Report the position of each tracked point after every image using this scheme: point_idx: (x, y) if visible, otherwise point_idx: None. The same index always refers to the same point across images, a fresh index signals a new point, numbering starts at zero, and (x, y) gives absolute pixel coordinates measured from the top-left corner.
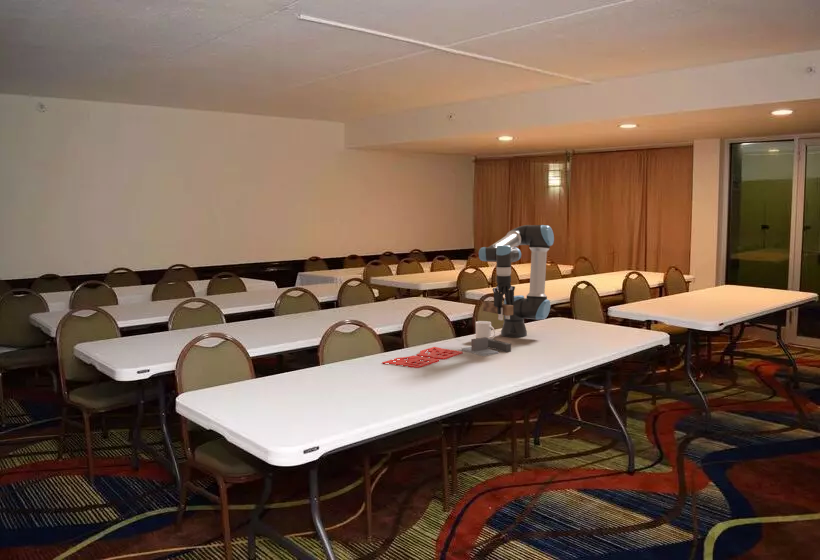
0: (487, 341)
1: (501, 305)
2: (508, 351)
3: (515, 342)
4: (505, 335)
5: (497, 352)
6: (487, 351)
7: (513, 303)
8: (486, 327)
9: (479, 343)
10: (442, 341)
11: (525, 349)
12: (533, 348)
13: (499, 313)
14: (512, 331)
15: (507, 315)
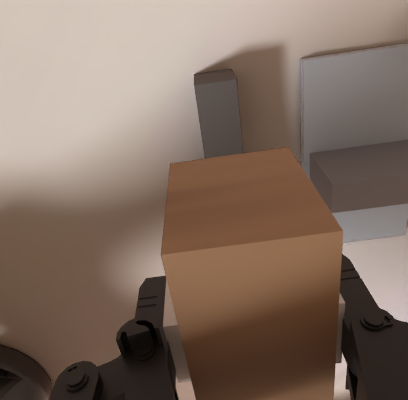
0: (329, 172)
1: (361, 344)
2: (214, 72)
3: (50, 264)
4: (42, 373)
5: (309, 58)
6: (356, 98)
7: (59, 390)
8: (184, 382)
9: (395, 161)
10: (338, 386)
11: (75, 85)
12: (11, 87)
13: (342, 256)
14: (1, 381)
15: (287, 148)
